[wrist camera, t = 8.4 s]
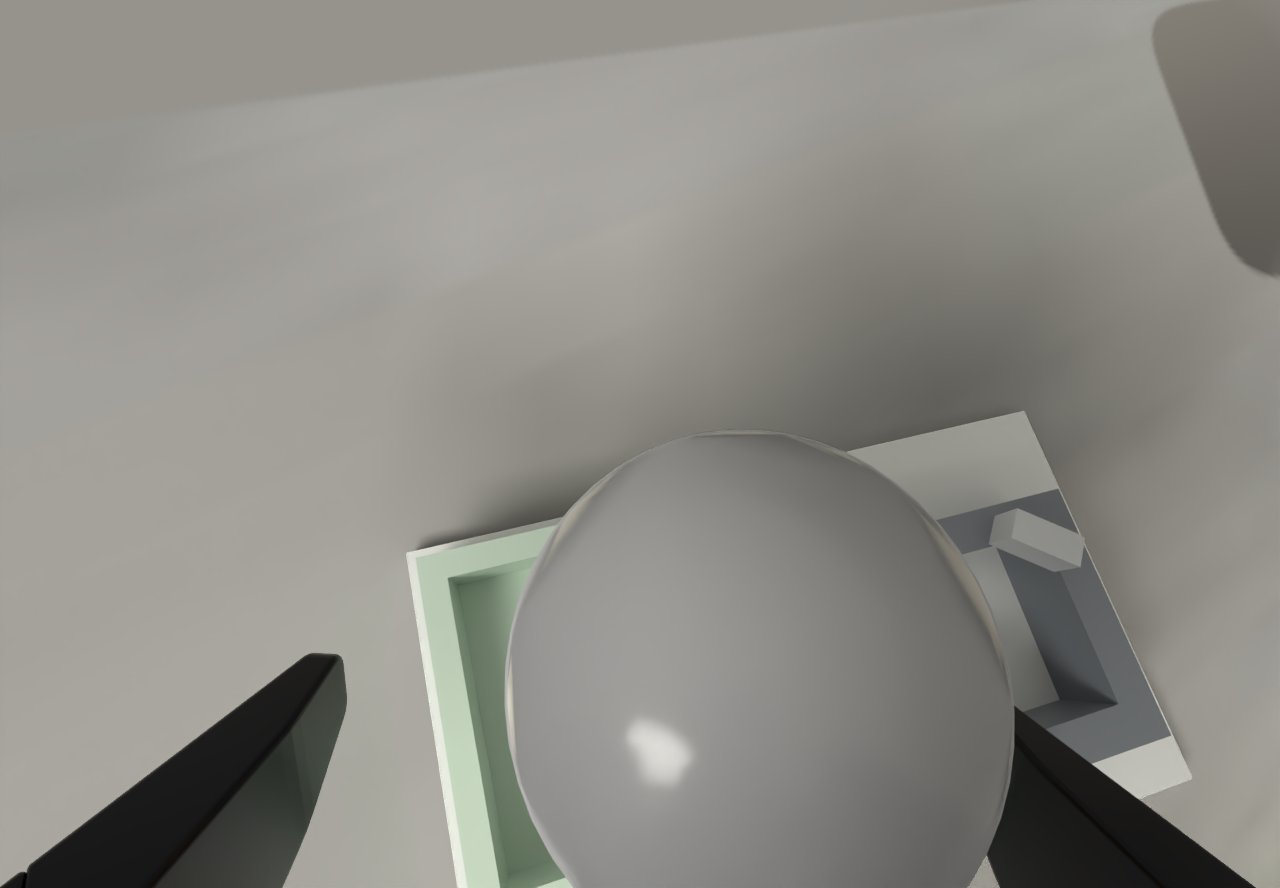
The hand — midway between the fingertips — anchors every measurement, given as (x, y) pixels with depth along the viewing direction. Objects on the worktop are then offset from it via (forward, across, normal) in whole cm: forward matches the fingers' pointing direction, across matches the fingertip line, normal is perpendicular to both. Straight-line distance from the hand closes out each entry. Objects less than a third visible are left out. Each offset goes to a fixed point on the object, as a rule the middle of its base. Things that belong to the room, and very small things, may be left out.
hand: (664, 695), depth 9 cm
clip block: (+8, -10, +6) cm, 15 cm away
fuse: (+7, 0, +6) cm, 9 cm away
